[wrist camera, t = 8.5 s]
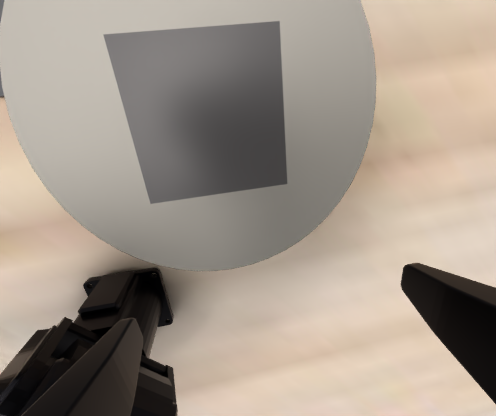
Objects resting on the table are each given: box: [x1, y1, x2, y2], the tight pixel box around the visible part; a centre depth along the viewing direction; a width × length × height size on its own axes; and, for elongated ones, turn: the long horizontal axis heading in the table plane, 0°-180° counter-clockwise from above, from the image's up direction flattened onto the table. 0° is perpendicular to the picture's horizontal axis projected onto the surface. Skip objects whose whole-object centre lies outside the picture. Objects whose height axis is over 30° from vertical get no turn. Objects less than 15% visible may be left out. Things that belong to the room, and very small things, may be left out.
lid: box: [0, 0, 376, 271], centre depth 7 cm, size 12×12×3 cm
